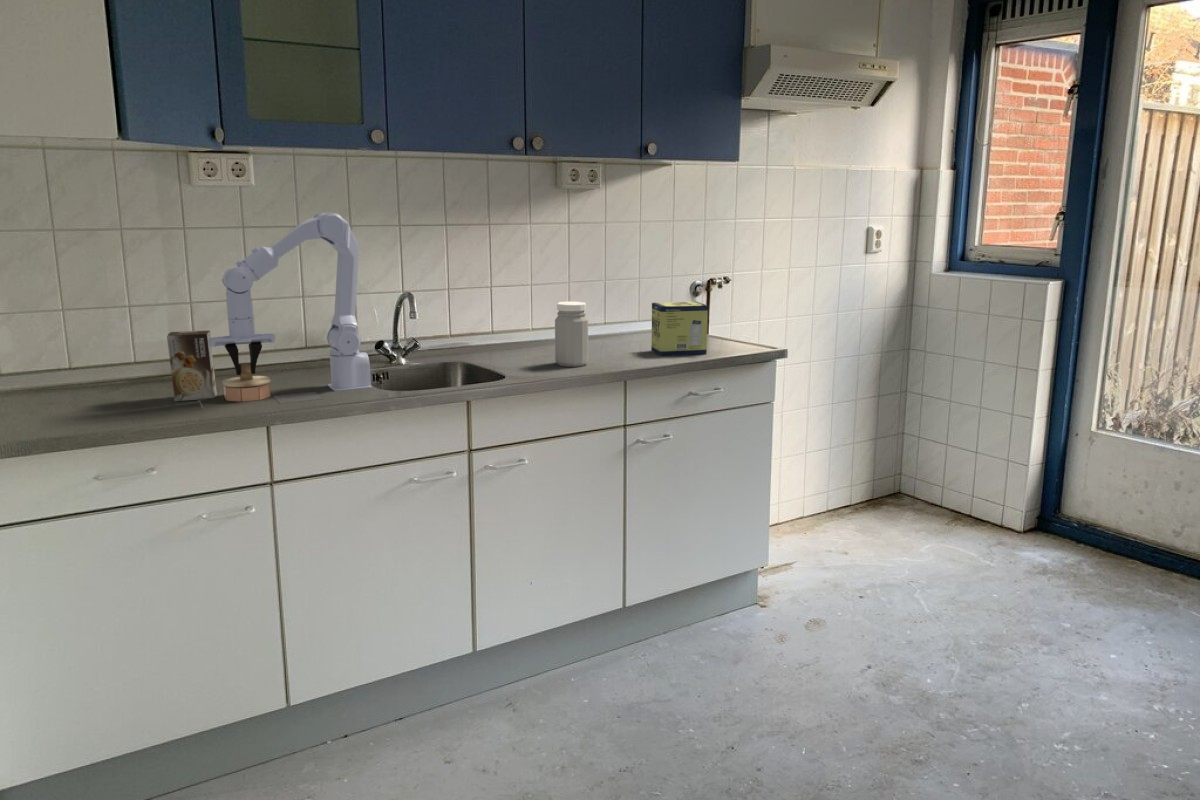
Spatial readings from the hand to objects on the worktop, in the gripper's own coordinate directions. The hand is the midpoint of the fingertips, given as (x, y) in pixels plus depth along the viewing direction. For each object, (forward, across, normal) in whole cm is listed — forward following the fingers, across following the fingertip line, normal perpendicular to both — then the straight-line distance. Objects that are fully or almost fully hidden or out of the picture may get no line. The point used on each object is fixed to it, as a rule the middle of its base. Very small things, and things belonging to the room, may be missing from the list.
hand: (245, 373), depth 216 cm
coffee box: (+6, -11, +6) cm, 14 cm away
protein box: (+6, +129, +4) cm, 129 cm away
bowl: (+6, 0, 0) cm, 6 cm away
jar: (+6, +90, +2) cm, 90 cm away
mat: (+6, +10, -7) cm, 14 cm away
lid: (+2, 0, 0) cm, 2 cm away
